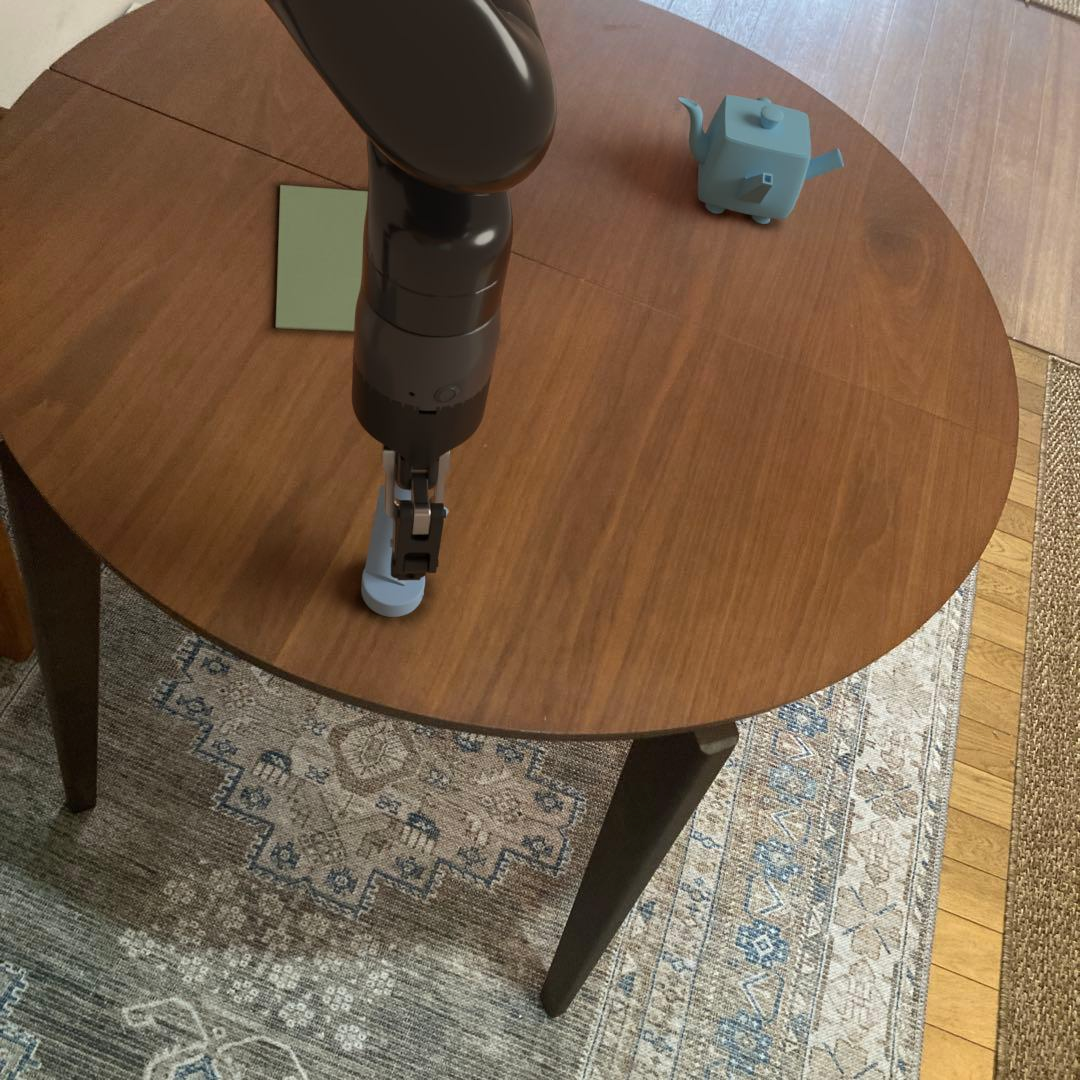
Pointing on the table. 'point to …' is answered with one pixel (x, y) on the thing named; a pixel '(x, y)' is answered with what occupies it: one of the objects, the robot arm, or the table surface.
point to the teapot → (754, 157)
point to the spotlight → (388, 568)
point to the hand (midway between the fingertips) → (404, 518)
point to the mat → (319, 257)
